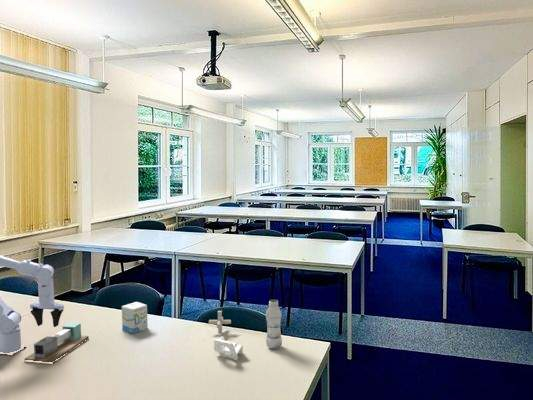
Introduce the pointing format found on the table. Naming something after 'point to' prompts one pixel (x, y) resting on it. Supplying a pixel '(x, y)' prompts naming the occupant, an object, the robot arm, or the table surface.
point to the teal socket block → (74, 330)
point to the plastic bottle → (273, 325)
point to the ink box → (134, 317)
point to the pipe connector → (219, 322)
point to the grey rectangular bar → (63, 335)
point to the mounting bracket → (227, 348)
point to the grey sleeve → (45, 347)
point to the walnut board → (60, 349)
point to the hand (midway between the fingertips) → (47, 325)
